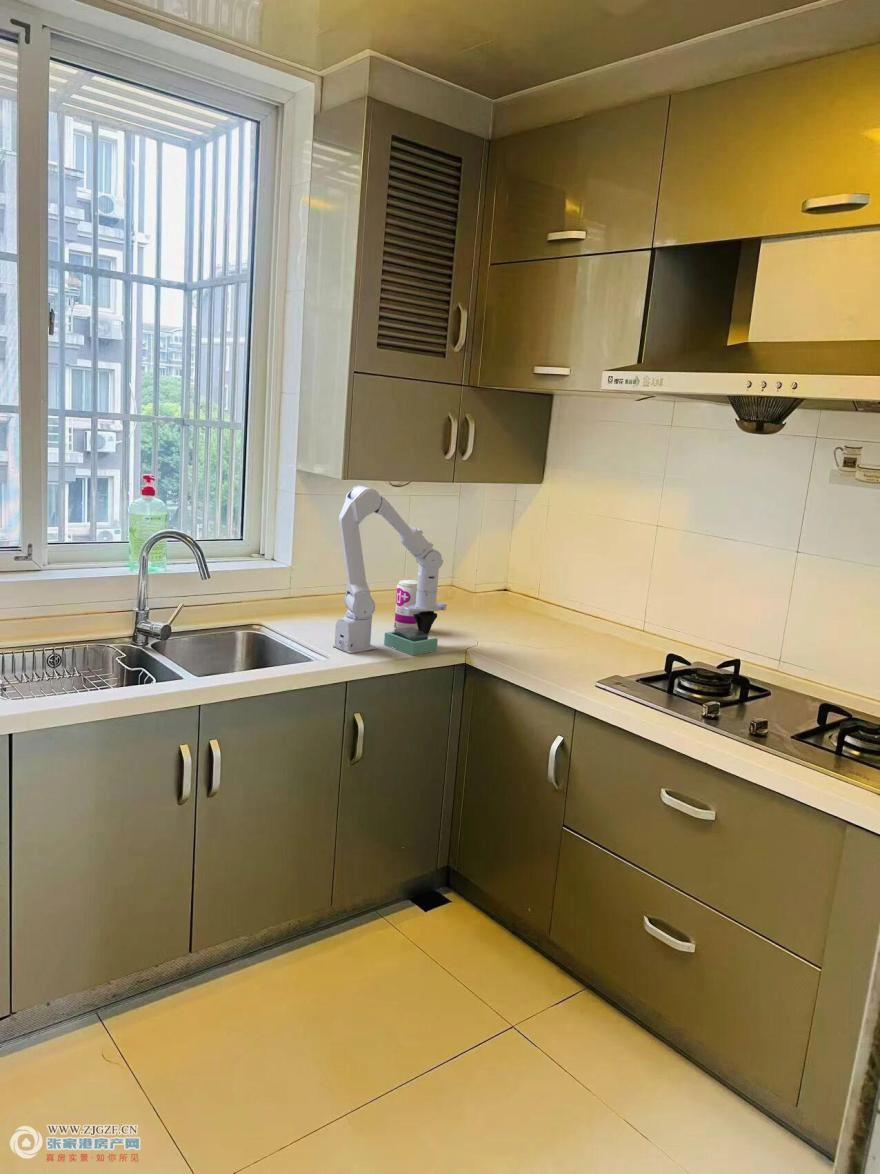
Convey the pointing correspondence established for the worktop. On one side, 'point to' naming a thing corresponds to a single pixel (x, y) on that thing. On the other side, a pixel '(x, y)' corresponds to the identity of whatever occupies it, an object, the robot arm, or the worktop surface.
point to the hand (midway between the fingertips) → (423, 637)
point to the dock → (410, 644)
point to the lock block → (411, 634)
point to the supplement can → (405, 603)
